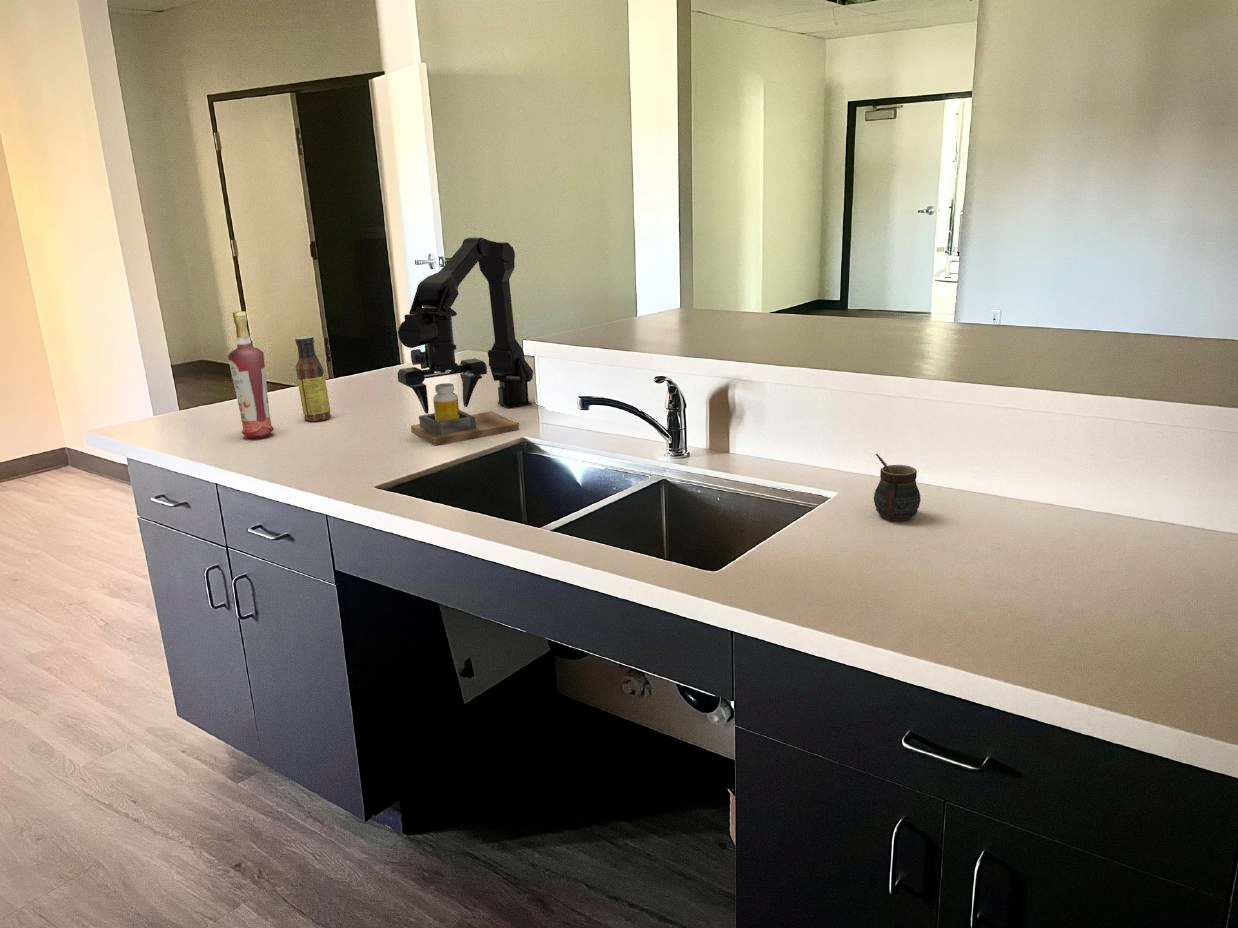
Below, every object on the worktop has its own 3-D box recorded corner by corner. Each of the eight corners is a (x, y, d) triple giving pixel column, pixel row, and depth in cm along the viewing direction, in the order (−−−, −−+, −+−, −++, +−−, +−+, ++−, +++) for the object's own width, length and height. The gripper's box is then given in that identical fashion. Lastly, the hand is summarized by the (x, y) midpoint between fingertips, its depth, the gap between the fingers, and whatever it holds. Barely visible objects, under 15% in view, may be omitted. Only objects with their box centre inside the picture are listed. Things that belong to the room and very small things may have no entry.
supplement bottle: (433, 426, 202) (429, 384, 199) (456, 423, 204) (452, 381, 201) (439, 431, 197) (435, 389, 194) (463, 428, 199) (459, 385, 196)
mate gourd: (913, 527, 140) (916, 466, 137) (865, 520, 144) (867, 460, 141) (925, 512, 146) (928, 453, 143) (878, 505, 150) (880, 448, 147)
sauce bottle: (336, 417, 218) (326, 335, 212) (318, 423, 213) (307, 340, 207) (315, 415, 221) (304, 334, 215) (297, 421, 216) (285, 338, 210)
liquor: (281, 435, 204) (263, 311, 195) (250, 442, 199) (230, 315, 190) (266, 430, 209) (247, 308, 200) (235, 437, 204) (214, 313, 195)
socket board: (492, 417, 214) (490, 401, 212) (519, 429, 202) (517, 412, 201) (411, 431, 203) (409, 414, 202) (435, 445, 192) (433, 427, 191)
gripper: (464, 330, 206) (470, 397, 210) (385, 340, 196) (393, 409, 201) (485, 336, 197) (490, 406, 201) (403, 347, 187) (410, 419, 192)
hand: (446, 410), depth 199 cm, fingers open, 9 cm apart
